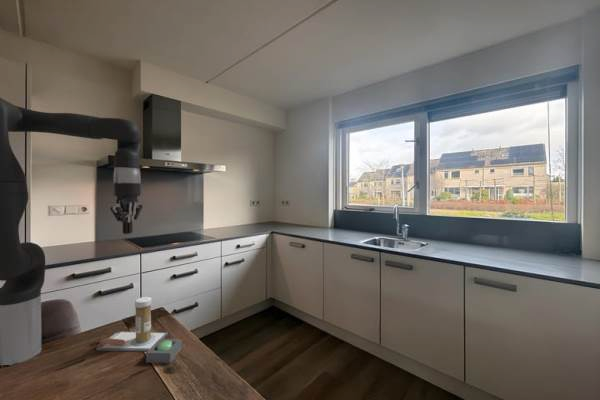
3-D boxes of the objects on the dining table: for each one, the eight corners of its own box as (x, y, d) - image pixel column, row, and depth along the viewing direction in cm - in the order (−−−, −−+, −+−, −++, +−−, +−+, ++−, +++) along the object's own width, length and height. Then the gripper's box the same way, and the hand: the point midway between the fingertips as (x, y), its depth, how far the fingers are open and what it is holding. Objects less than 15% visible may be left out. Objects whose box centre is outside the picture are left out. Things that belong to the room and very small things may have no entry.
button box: (146, 362, 74) (146, 352, 74) (159, 348, 81) (159, 338, 81) (170, 363, 74) (170, 353, 74) (181, 348, 81) (181, 339, 81)
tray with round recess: (96, 350, 79) (96, 347, 79) (119, 332, 89) (119, 329, 89) (151, 352, 79) (151, 348, 79) (168, 334, 89) (168, 330, 89)
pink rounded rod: (100, 344, 81) (101, 339, 81) (104, 341, 82) (105, 336, 82) (122, 346, 81) (122, 341, 80) (125, 343, 82) (126, 338, 82)
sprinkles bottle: (151, 340, 84) (151, 300, 83) (135, 345, 81) (135, 303, 81) (150, 334, 88) (150, 295, 87) (134, 338, 85) (134, 298, 85)
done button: (154, 358, 76) (154, 348, 76) (161, 349, 80) (161, 340, 80) (167, 358, 76) (167, 348, 76) (174, 350, 80) (174, 340, 80)
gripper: (129, 182, 93) (129, 230, 93) (100, 180, 80) (101, 236, 80) (150, 182, 93) (150, 230, 93) (125, 181, 80) (125, 237, 80)
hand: (127, 233), depth 87 cm, fingers closed
